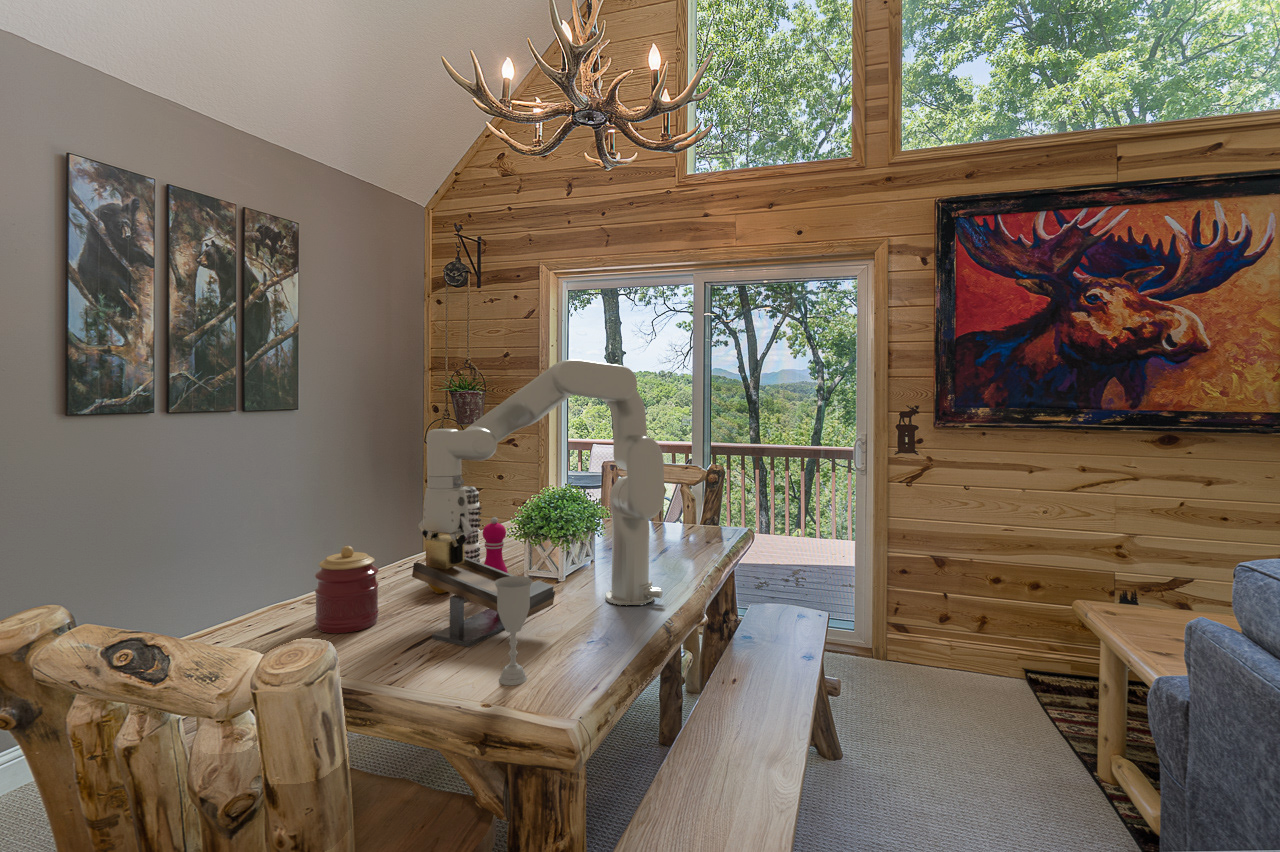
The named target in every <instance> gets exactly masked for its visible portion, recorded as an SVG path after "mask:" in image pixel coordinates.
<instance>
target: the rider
mask: <svg viewBox="0 0 1280 852" xmlns="http://www.w3.org/2000/svg"><path fill="white" fill-rule="evenodd" d="M456 537H457V536H456ZM457 539H458V537H457ZM452 546H453V543H452V540H451V537H450V534H442V535H439V537H435V538H431V539H428V540H426V539H425V565H426V566H428V567H435V568H441V569H449V568H452V567H454V566H457V565H460V564H463V563H465V552H464V544H463V561H462V562H459V563H456V564H452V563H451V547H452Z"/></svg>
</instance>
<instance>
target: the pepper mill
mask: <svg viewBox="0 0 1280 852" xmlns="http://www.w3.org/2000/svg"><path fill="white" fill-rule="evenodd" d="M506 536H507V529H506V527H505V526H504V524H502V523H499V519H498V517H491V519H490V523H488V524H486V525H485V526H484V527H483V530H482V537H483V539H484V548H485V553H486V554H485V558H484V559H485V560H484V562H483V564H485V565H487V566H490V567H493V568H495V569H498V570H501V571H503V572H506V573H509V572H508V567H507V566H506V563H505V560H504V558H503V548H504V547H505V541H504V539H505V537H506Z"/></svg>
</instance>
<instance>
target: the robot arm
mask: <svg viewBox="0 0 1280 852" xmlns="http://www.w3.org/2000/svg"><path fill="white" fill-rule="evenodd" d="M637 379H638V378H637V377H636V374H635V373H634V372H633V371H632V370H631V369H630V368H629V367H626V366H624V365H619V364H611V363H604V362H596V361H591V360H582V359H576V358H575V359H574V358H570V359H566V360H560V361H559V362H556V363H555V364H553V365H552V366H550V367H548V368H547V369H546V370H545V371H544V372H542V373H541V374H540V375H538V376H536V377H535V378H534V379H533V380H531V381H530V382H528V384H526V385H524V386H523V387H522V388H520V389H519V390H517V391H516V392H515V393H513V394H511V396H509V397H507V398H506V399H505V400H504V401H502V402H501V403H499V404H498V405H496V406H495V407H493V408H492V409H491V410H489V411H488V412H487V413H485V414H484V415H482V416H481V417H480V418H478V419H477V420H476V421H474V422H473V423H471V424H470V425H469V426H467V427H466V428H465V429H464V430H458V429H456V428H434V429H430V430H428V432H427V434H426V474H427V475H426V476H427V477H426V478H427V479H426V481H427V482H426V483H427V485H426V486H427V488H425V492H424V493H425V494H424V499H423V500H424V501H423V511H422V513H423V514H422V520H421V521H420V522H419V523H418V524H417V527H418V529H419V530H420V532H421V533H422V535H423V537H424V538H425V541H426V540H428V539H431V538H435V537H439V536H440V534H445V535H449V536H450V537H451V540H452V543H453V546H452V547H451V563H452V564H456V563H459V562H462V561H463V544H465V541H466V540H467V539H468V538H469V536H470V535H471V534H472V533H473V529H472V527H471V526H470V525H469V512H468V503H467V497H466V493H465V489H462V486H464V484H465V480H464V479H463V477H462V474H463V473H462V467H463V465H462V460H468V461H478V462H480V461H482V462H483V461H486V460H488V459H490V458H491V457H493V456H494V454H495V453H496V452H497V449H498V444H499V442H501V441H502V440H504V439H505V438H506V437H508V436H509V435H511V434H512V433H514V432H516V431H517V430H520V429H523V428H526V427H528V426H531V425H533V424H535V423H537V422H539V421H540V420H541V419H543V418H544V417H545V416H546V415H548V414H549V413H550V412H551V411H553V410H554V409H555V408H557V407H558V406H560V404H562V403H564V402H565V401H566V400H567V399H569V398H571V397H572V396H576V397H577V396H579V397H584V398H591V399H600V400H601V401H603V402H605V403H606V405H607V406H608V408H609V410H610V413H611V416H612V429H613V438H612V439H613V460H614V463H615V465H616V466H617V467H619V469H622V470H623V471H626V476H622V477H620V478H619V479H617V480H616V481H615V482H614V484H613V485H612V486H611V487H612V488H611V490H610V494H609V498H610V499H609V500H610V501H609V503H610V511H611V521H612V524H611V525H612V526H611V527H612V532H611V533H612V534H611V535H612V538H611V589H610V590H608V591H606V593H605V594H604V595H605V600H606V601H607V602H609V603H610V604H612V603H613V605H616V604H617V606H621V605H626V606H625V607H628V606H627V605H640V606H642V605H641V604H645V603H648V602H651V601H652V600H653V599H654V600H655V598H656V599H662V597H663V590H662V588H660V587H654V586H653V581H652V580H649V579H650V577H649V575H650V571H649V570H650V568H649V567H650V566H649V565H650V521H649V520H652V519H653V518H655V517H656V516H658V515H659V514H660V512H661V510H662V508H663V505H664V500H665V468H664V467H665V466H664V465H665V463H664V462H665V461H664V454H663V452H662V449H661V447H660V444H659V443H658V442H657V441H656V440H655V439H653V437H650V436H648V432H647V429H648V427H647V416H646V415H647V414H646V409H645V404H644V402H643V398H642V397H641V395H640V393H639V391H638V390H637V388H638V387H637V386H638V380H637ZM462 531H464V533H462ZM456 535H458V539H457V537H456ZM654 600H653V601H654ZM653 601H652V602H653ZM652 602H651V603H652ZM645 605H646V604H645Z"/></svg>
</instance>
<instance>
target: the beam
mask: <svg viewBox="0 0 1280 852" xmlns="http://www.w3.org/2000/svg"><path fill="white" fill-rule="evenodd" d="M509 576H515V575H514V574H511V573H509V572H508V573H506V572H503V571H501V570H498V569H495V568H493V567H490V566H487V565H485V564H484V563H482V562H480V563H479V562H477V561H474V560H471V559H469V558H466V557H465V563H463V564H460V565H457V566H454V567H452V568H449V569H441V568H435V567H428V566H426V564H423V563H420V562H418V561H416V562H413V567H412V575H411V577H412V578H415V579H417V580H419V581H422V582H423V583H426V584H427V585H428V584H431V585H433V586H436V587H438V588H440V589H443V590H445V591H448V593H451V594H453V595H458V596H463V597H464V604H467V603H469V602H473V603H475V604H478V605H480V606H482V607H484V608H487V609H492V610H494V611H496V612H498V610H497V587H496V585H495V581H496V580H498V579H500V578H503V577H509ZM555 595H556V591H555V590H554V585H553V584H549V583H547V582H544V581H542V580H536V581H533V582H532V584H531V586H530V608H529V611H528V615H527V618H526V619H528V618H530V617H532V616H534V615H536V614H537V613H540V612H542V611H544V610H545V609H547V608H549V607H551V606H553V605H554V601H555Z"/></svg>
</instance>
